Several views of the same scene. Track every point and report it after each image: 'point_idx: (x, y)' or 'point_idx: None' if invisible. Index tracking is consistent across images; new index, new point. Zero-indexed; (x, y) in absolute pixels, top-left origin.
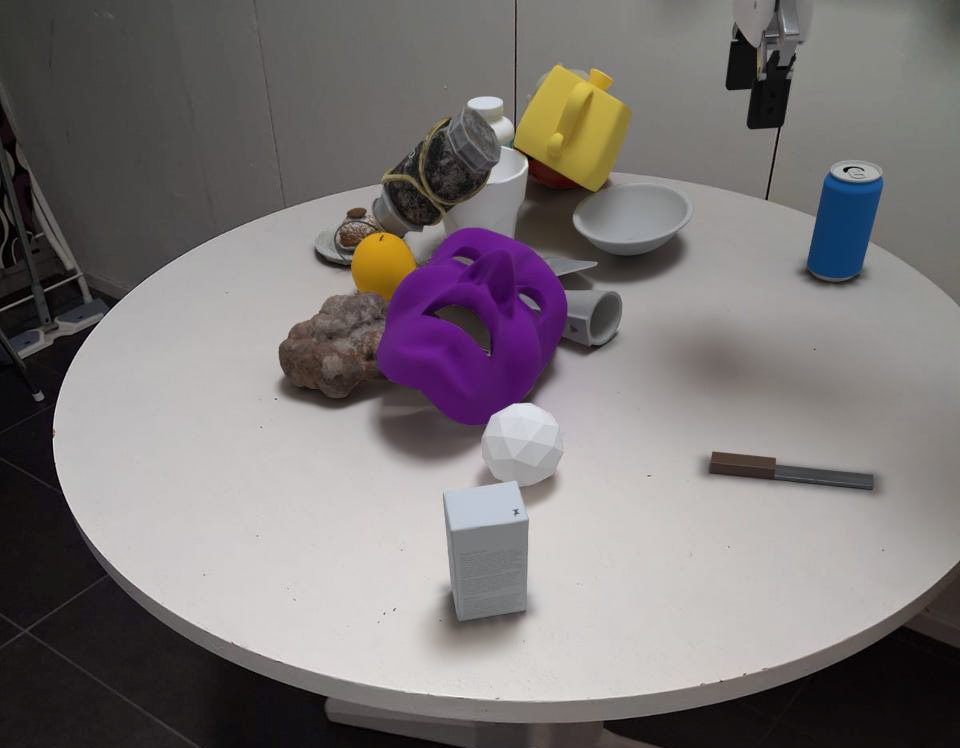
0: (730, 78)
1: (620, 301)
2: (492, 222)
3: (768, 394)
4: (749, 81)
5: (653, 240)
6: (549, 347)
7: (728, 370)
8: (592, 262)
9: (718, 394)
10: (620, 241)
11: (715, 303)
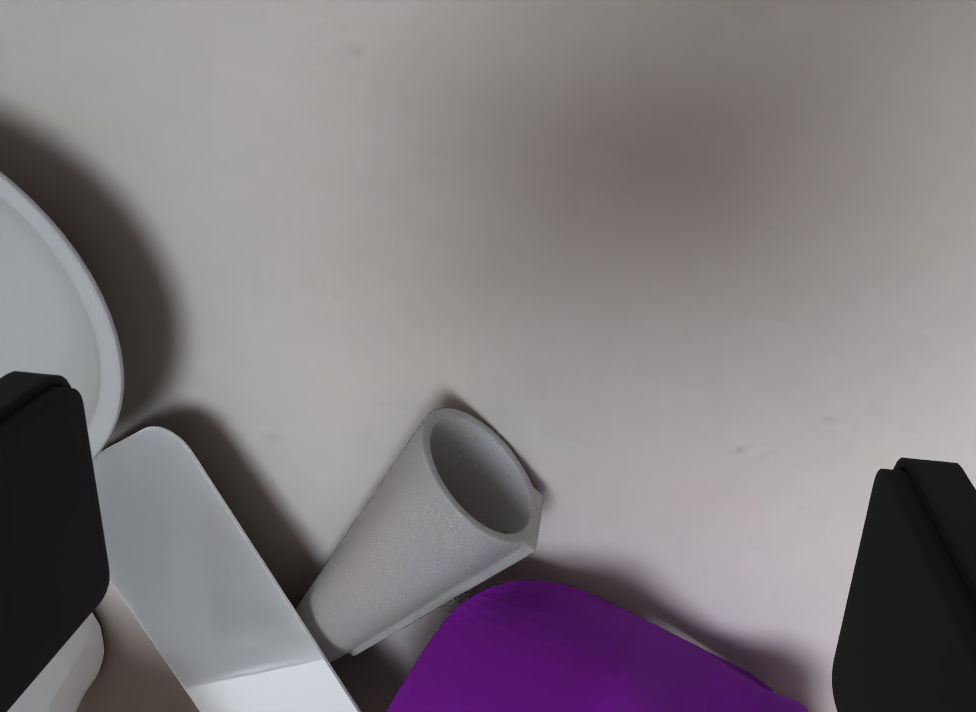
0: (67, 629)
1: (426, 435)
2: (42, 706)
3: (858, 47)
4: (62, 480)
5: (98, 287)
6: (677, 667)
7: (697, 137)
8: (151, 436)
9: (816, 197)
10: (113, 390)
11: (307, 81)
